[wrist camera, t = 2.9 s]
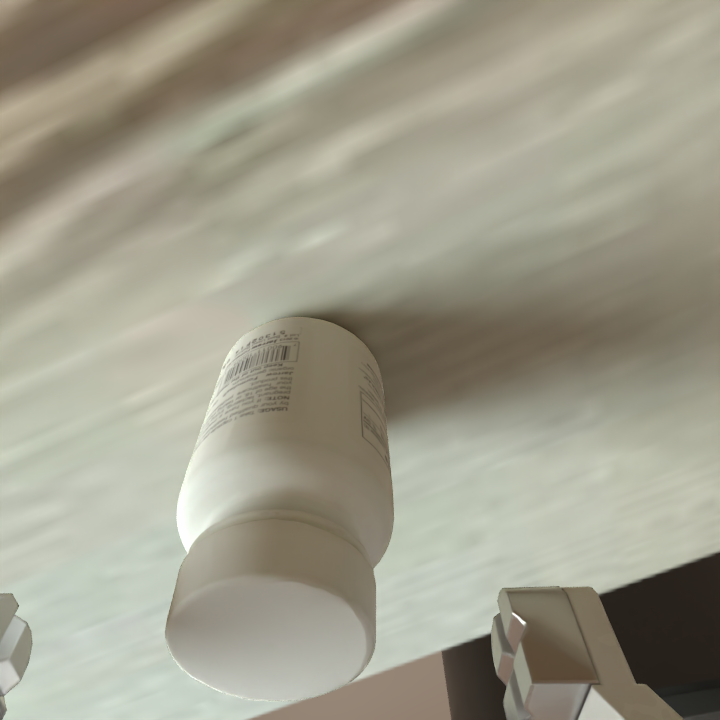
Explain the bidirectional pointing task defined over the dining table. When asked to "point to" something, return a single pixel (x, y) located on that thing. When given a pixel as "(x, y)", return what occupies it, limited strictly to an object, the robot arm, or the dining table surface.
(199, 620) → the pill bottle
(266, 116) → the dining table surface
